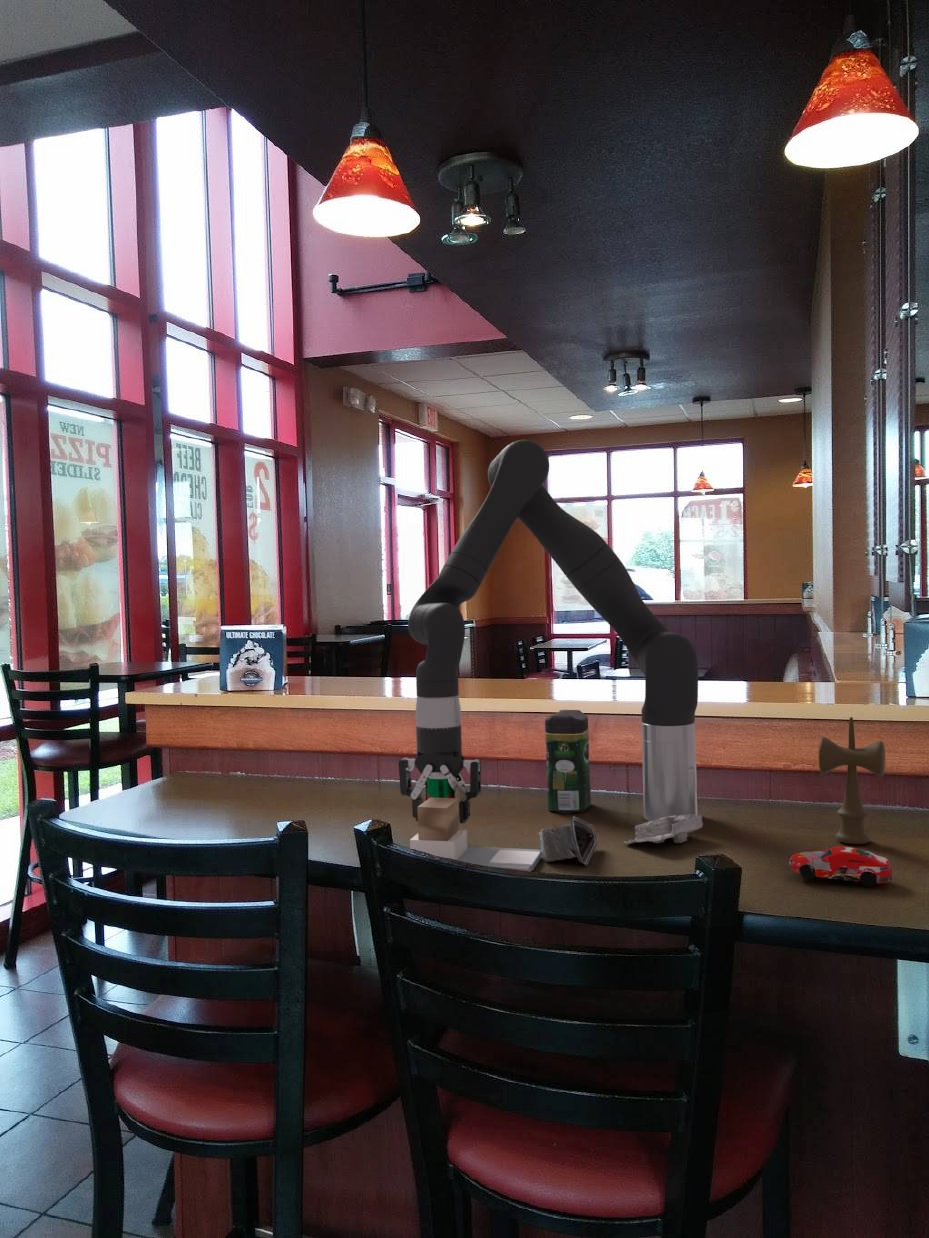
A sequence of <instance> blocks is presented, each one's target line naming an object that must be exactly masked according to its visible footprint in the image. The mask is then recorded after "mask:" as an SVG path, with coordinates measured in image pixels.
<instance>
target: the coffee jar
mask: <svg viewBox="0 0 929 1238" xmlns="http://www.w3.org/2000/svg"><path fill="white" fill-rule="evenodd" d="M589 736H590V734H589V717H588V716H587V715H586V714H585V713H583V712H582V711H581V710H580V709H560V710H558V711H557V712H556V713H553V714H551V715H550V716H548V717H547V718H545V719H544V737H545V739H544V740H545V755H546V760H545V761H546V800H547V801H546V804H547V809H548V810H549V811H551V812H557V813H558V814H572V813H583V812H585V811H586V810H588V808H589V807H590V806H591V804H592V801H591V800H592V795H591V794H592V793H591V775H590V773H591V771H590V770H591V769H590V749H589V748H590V746H589V745H590V744H589V743H590V742H589V741H590V740H589V739H590V738H589Z"/></svg>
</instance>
